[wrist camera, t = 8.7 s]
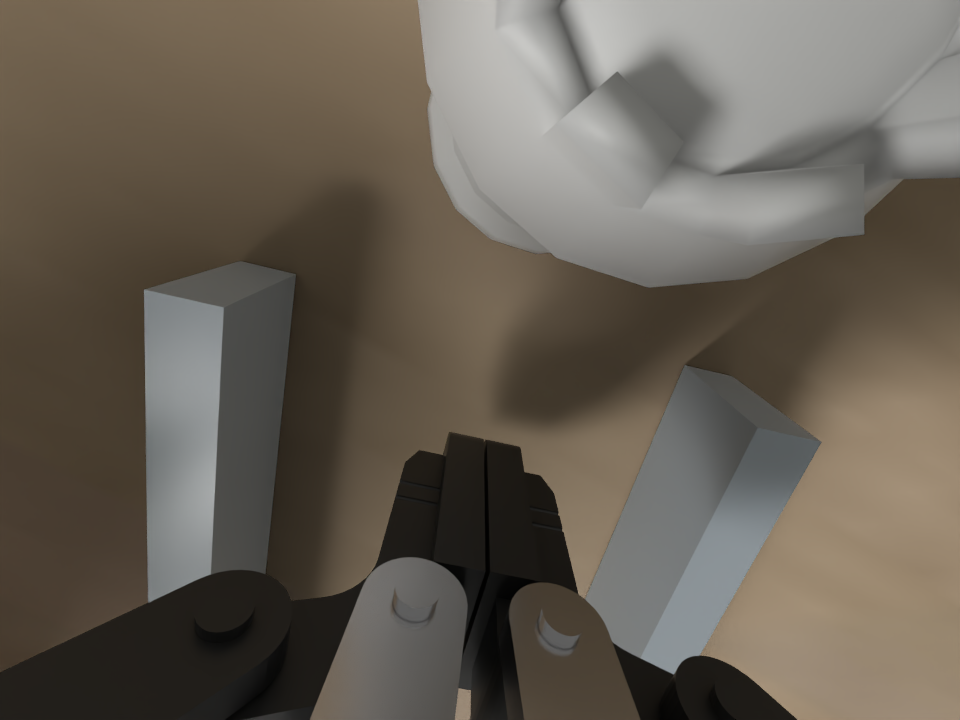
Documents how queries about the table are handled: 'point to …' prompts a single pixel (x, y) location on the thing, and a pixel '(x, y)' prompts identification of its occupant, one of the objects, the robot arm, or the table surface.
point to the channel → (255, 439)
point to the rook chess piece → (686, 124)
